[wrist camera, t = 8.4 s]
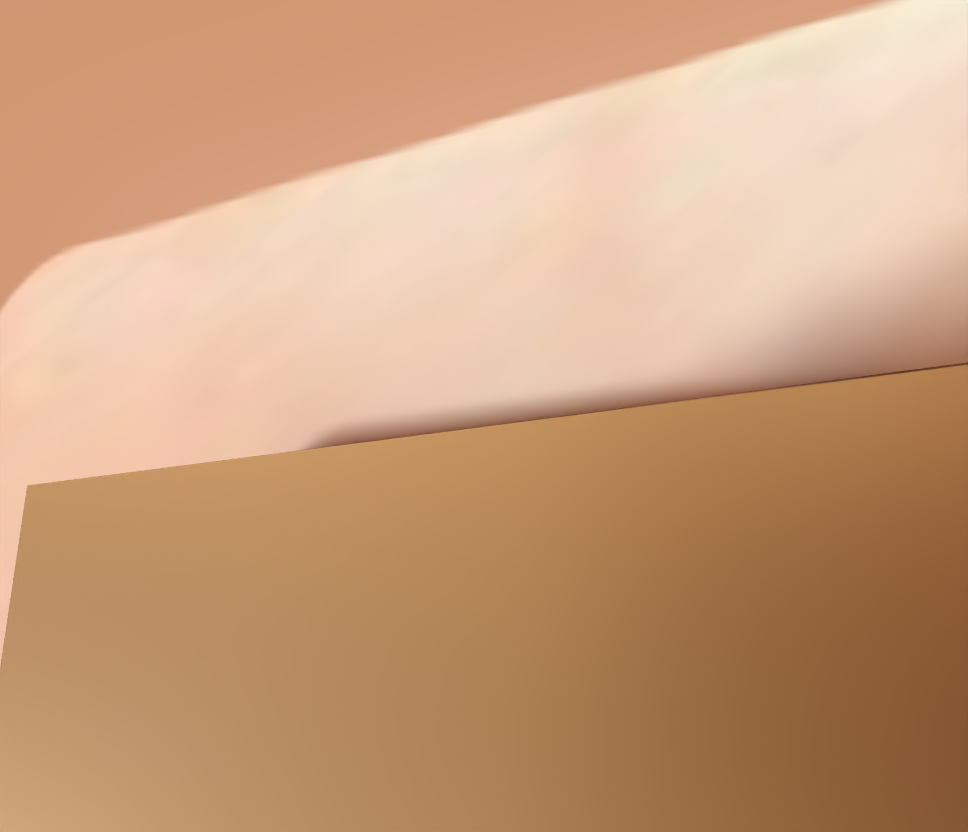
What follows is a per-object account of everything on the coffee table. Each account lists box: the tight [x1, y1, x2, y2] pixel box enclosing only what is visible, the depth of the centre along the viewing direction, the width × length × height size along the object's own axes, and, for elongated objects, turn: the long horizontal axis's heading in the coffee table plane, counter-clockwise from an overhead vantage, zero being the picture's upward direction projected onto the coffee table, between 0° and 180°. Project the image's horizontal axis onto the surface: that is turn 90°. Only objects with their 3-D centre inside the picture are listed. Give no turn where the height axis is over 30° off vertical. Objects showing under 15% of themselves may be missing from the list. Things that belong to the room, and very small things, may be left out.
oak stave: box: [0, 365, 968, 832], centre depth 9 cm, size 3×6×13 cm, turn 95°
